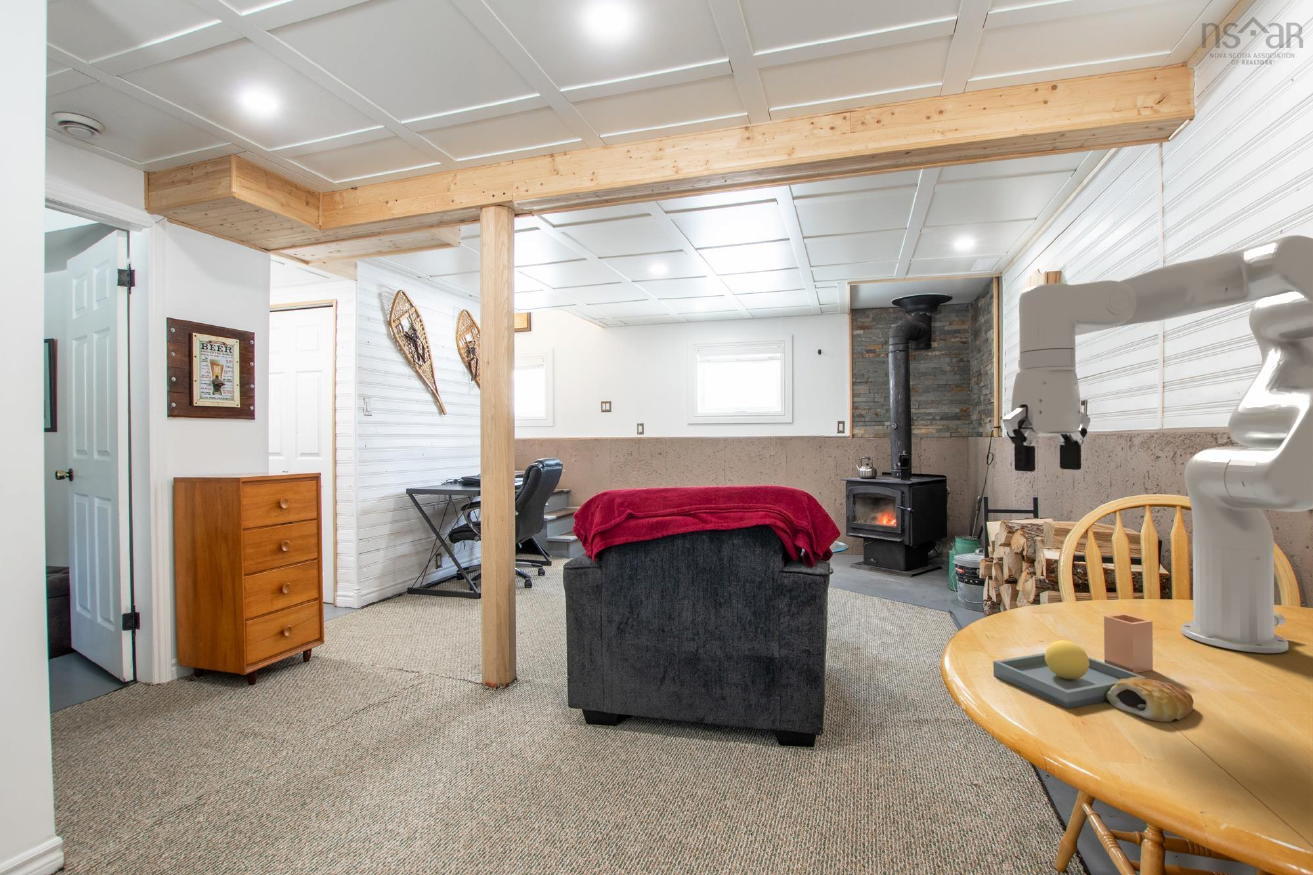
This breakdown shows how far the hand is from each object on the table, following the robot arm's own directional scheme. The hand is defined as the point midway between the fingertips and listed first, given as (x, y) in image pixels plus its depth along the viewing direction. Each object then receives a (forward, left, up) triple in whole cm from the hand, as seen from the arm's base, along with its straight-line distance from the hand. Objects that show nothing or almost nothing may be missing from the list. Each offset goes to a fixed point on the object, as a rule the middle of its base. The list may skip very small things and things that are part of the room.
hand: (1047, 470), depth 96 cm
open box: (-3, +10, -28) cm, 30 cm away
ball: (+11, +11, -25) cm, 30 cm away
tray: (+11, +11, -28) cm, 32 cm away
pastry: (+8, +20, -29) cm, 36 cm away
